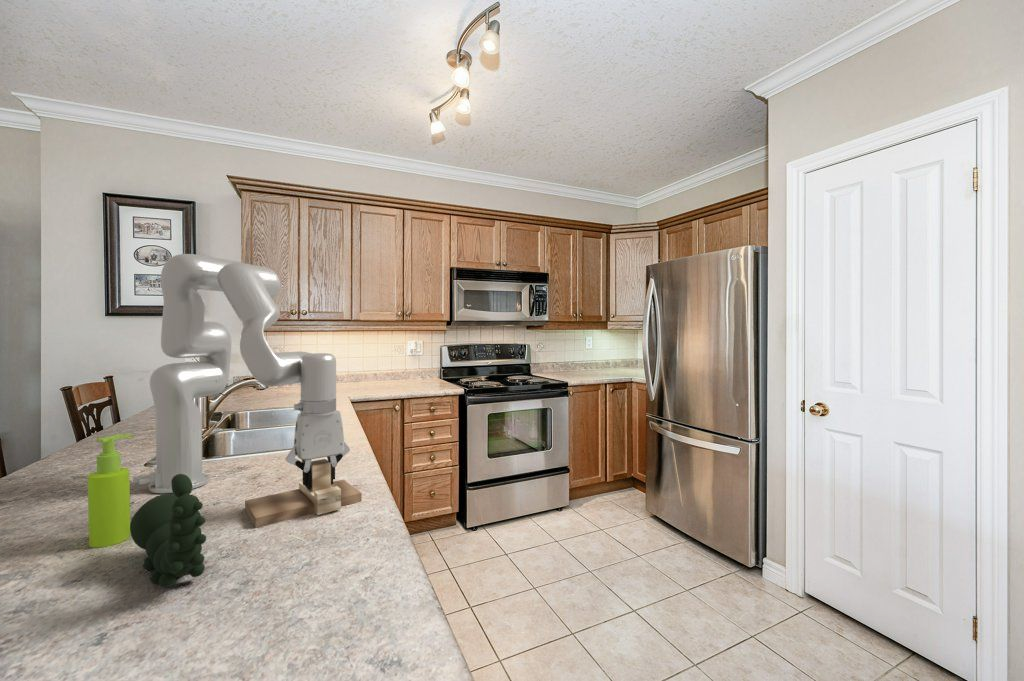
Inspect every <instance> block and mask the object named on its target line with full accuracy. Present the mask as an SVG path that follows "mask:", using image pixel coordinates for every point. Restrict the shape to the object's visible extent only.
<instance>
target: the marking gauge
mask: <svg viewBox="0 0 1024 681" xmlns="http://www.w3.org/2000/svg"><path fill="white" fill-rule="evenodd" d="M310 471H311V472H312V488H311V489H309V490H308V489H307V488H306V487H305V485H303V480H302V481H298V489H300V490H301V491H302V492H303V493H304V494H305V495H306V496H307V497H308V498H309V499H310V500H311V501H312V502H313V503H314V512H315V513H314V514H316V515H317V516H319V515H324V514H327V513H331V512H334V511H339V510H342V506H341V489H340V488H339V487H338V486H336V487H331V463H330V462H329V461H328V459H327V458H323V459H315V460H311V464H310Z"/></svg>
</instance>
